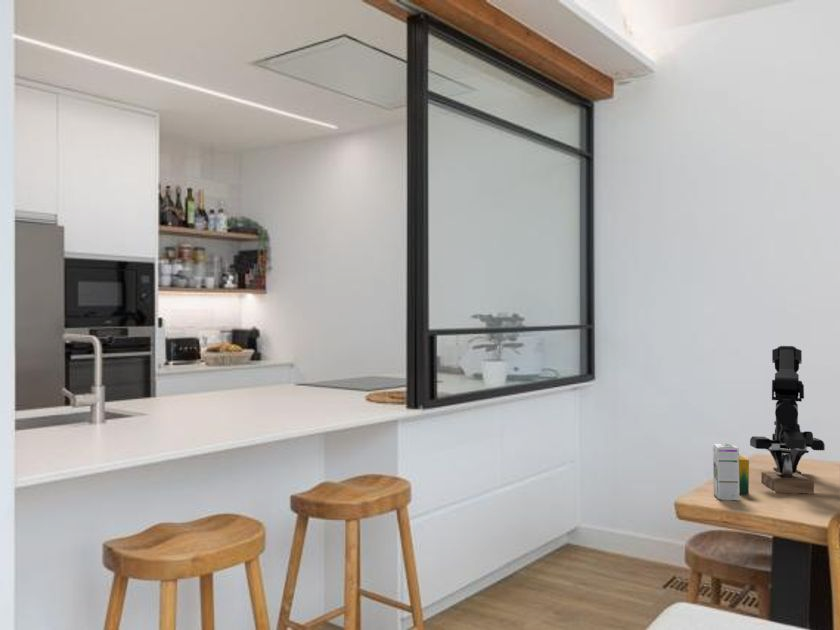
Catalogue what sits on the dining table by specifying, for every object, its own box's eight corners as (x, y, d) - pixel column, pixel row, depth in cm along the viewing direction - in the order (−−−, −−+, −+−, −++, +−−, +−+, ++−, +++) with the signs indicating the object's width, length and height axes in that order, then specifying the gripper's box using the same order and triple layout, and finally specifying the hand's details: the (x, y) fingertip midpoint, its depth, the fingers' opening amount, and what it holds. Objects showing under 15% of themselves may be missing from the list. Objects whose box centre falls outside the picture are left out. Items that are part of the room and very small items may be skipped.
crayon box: (749, 495, 195) (749, 453, 195) (738, 494, 196) (738, 453, 196) (740, 488, 202) (740, 448, 203) (729, 488, 203) (729, 448, 203)
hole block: (761, 483, 210) (761, 471, 210) (796, 484, 208) (796, 472, 208) (776, 492, 198) (776, 480, 198) (813, 494, 196) (813, 481, 196)
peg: (779, 480, 205) (779, 453, 205) (790, 480, 204) (790, 453, 204) (783, 482, 202) (783, 454, 202) (794, 482, 201) (794, 455, 201)
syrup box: (740, 501, 188) (740, 447, 189) (717, 499, 190) (716, 446, 190) (735, 495, 194) (735, 443, 194) (712, 494, 195) (712, 443, 195)
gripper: (762, 422, 196) (763, 478, 196) (833, 424, 194) (833, 480, 194) (749, 417, 207) (749, 469, 207) (816, 418, 205) (816, 471, 205)
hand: (786, 472), depth 203 cm, fingers closed on peg, 3 cm apart
